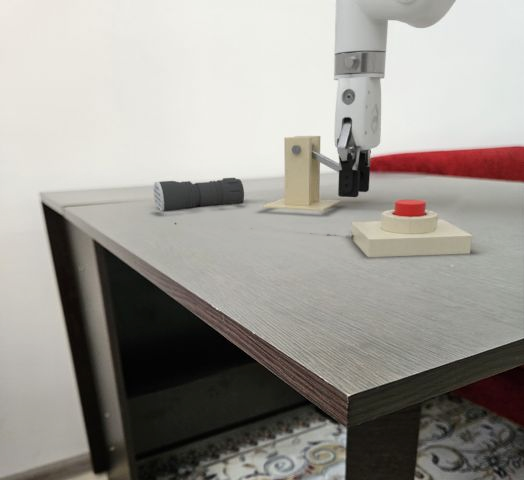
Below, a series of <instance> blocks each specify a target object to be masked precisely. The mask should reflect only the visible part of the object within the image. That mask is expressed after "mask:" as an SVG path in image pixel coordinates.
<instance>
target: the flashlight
mask: <svg viewBox="0 0 524 480" xmlns="http://www.w3.org/2000/svg"><path fill="white" fill-rule="evenodd" d="M244 199H245V189H244V185H243V182H242V180H241V179H239V178H236V177H223V178H222V179H217V180H209V181H206V182H203V181H202V182H195V183H192V182H191V181H190V180H188V181H175V180H163V181H155V182H154V183H153V201H154V205H155V208H156V209H157V210H159V211H160V212H169V211H179V210H184V209H186V210H187V209H195V208H198V207H200V208H201V207H213V206H225V205H239V204H243V203H244V201H245V200H244Z"/></svg>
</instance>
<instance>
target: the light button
mask: <svg viewBox="0 0 524 480" xmlns="http://www.w3.org/2000/svg"><path fill="white" fill-rule="evenodd" d="M426 206H427V201H425V200H422V199H398V200H395V202H394V209H395V211H394V215H397V216H405V217H420V216H425V210H426Z"/></svg>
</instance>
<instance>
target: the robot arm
mask: <svg viewBox="0 0 524 480" xmlns="http://www.w3.org/2000/svg"><path fill="white" fill-rule="evenodd" d="M456 1H457V0H335V15H334V16H335V18H334V19H335V20H334V23H335V24H334V59H333V81H337V88H336V98H335V111H334V133H333V134H334V137H333V138H334V146H335V148H336V150H337V154H338V163H339V172H338V189H337V190H338V191H337V195H338V197H340V198H357V197H359V195H360V193H367V192H369V190H370V179H371V178H370V176H371V161H372V160H371V154H372V149H375V148H377V147H378V146H380V143H381V136H382V135H381V133H382V131H381V130H382V83H381V79H385V76H386V75H385V74H386V62H387V61H386V59H387V43H388V27H389V26H388V25H389V21H397V22H401V23H404V24H406V25H409V26H410V27H413V28H416V29H426V28H430V27H432V26H434V25H436V24H437V23H438V22H440V21H441V20H442V19H443V18H444V17H445V16H446V15H447V14H448V12H450V10H451V8H452V7H453V6H454V4H455V3H456ZM360 171H362V172H363V177H362V178H361V179H359V176H360Z"/></svg>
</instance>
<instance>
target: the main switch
mask: <svg viewBox="0 0 524 480" xmlns="http://www.w3.org/2000/svg"><path fill="white" fill-rule="evenodd" d="M314 146H315V145H314V144H313V143H312V157H311V158H313V159H315V160H317V161H319V162H320V164H322V165H324V166H326V167H327V168H330V169H331V170H333V171H334V172H337V173H339V162H337V161H335V160H333V159H331V158H329V157H327V156H326V155H324V154H322V153H321V152H320V153H318V152H316V151H314V150H313V148H314ZM362 177H363V172H362V171H360V176H359V179H361V178H362Z"/></svg>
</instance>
